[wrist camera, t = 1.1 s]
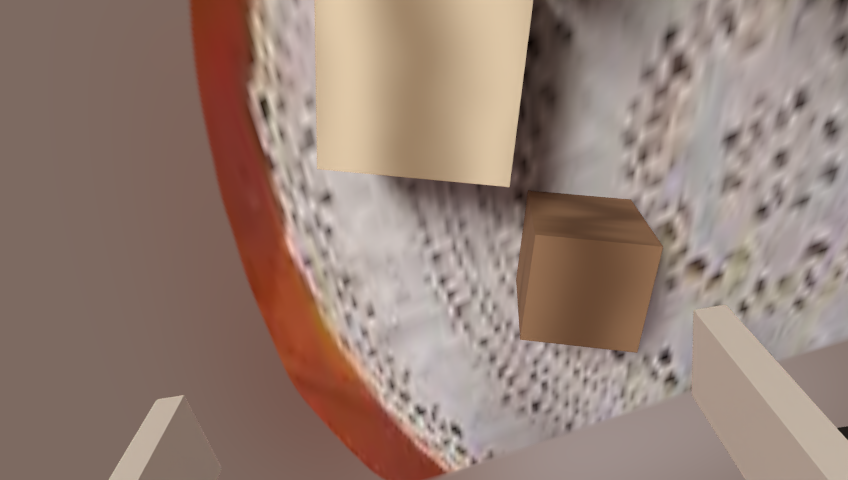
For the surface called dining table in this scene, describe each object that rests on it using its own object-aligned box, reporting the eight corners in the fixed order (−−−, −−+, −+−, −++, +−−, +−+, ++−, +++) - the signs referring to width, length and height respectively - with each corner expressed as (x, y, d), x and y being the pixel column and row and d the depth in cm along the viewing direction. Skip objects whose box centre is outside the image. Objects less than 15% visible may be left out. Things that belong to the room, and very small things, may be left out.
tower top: (531, -27, 25) (537, -33, 22) (507, 164, 29) (509, 187, 25) (339, -39, 26) (313, -46, 22) (339, 149, 30) (317, 168, 26)
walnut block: (630, 199, 33) (663, 246, 26) (611, 289, 35) (637, 352, 29) (528, 190, 33) (535, 234, 27) (516, 279, 36) (520, 339, 29)
